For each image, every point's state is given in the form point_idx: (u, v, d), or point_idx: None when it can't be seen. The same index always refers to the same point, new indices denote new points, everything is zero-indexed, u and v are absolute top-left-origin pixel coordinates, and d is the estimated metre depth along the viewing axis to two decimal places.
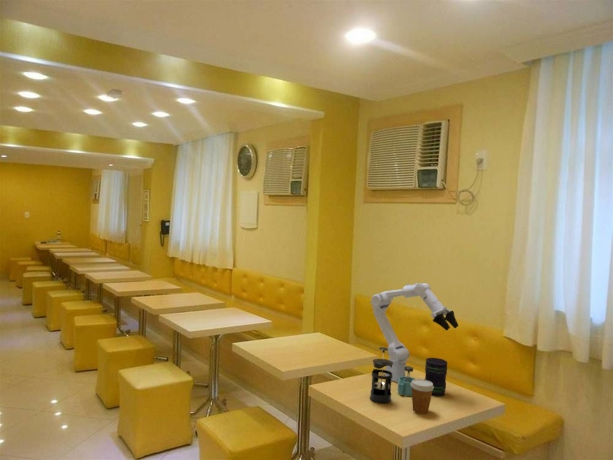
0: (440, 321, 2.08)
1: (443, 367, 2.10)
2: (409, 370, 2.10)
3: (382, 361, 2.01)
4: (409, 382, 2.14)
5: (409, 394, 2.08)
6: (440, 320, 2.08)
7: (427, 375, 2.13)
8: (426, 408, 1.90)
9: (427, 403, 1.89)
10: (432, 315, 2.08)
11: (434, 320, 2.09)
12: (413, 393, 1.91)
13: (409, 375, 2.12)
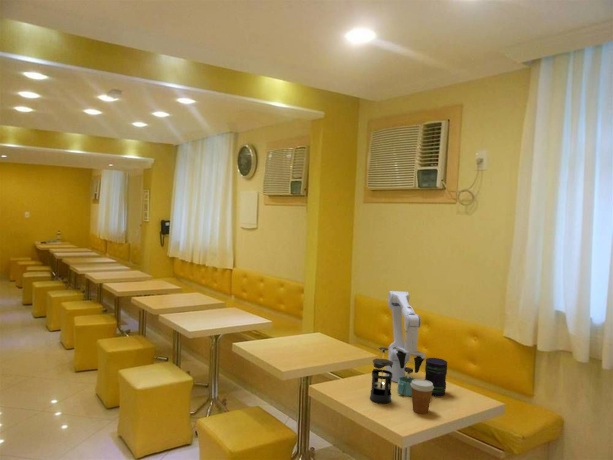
0: None
1: (443, 367, 2.10)
2: (409, 371, 2.10)
3: (382, 361, 2.01)
4: None
5: (409, 394, 2.08)
6: None
7: (427, 375, 2.13)
8: (426, 408, 1.90)
9: (427, 403, 1.89)
10: None
11: None
12: (413, 393, 1.91)
13: (409, 375, 2.12)
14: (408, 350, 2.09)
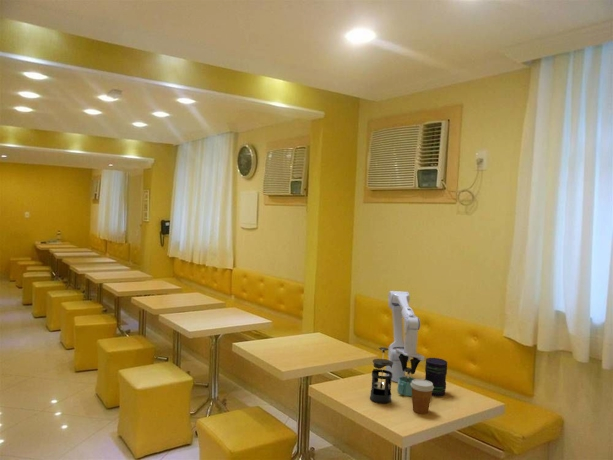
0: None
1: (443, 367, 2.10)
2: (409, 371, 2.10)
3: (382, 361, 2.01)
4: None
5: (409, 394, 2.08)
6: None
7: (427, 375, 2.13)
8: (426, 408, 1.90)
9: (427, 403, 1.89)
10: None
11: None
12: (413, 393, 1.91)
13: (409, 375, 2.12)
14: (407, 352, 2.10)
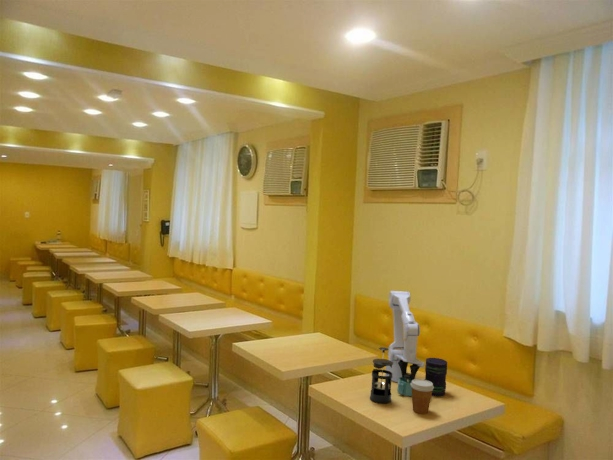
0: None
1: (443, 367, 2.10)
2: (409, 377, 2.10)
3: (382, 361, 2.01)
4: None
5: (409, 394, 2.08)
6: None
7: (427, 375, 2.13)
8: (426, 408, 1.90)
9: (427, 403, 1.89)
10: None
11: None
12: (413, 393, 1.91)
13: None
14: (407, 359, 2.10)
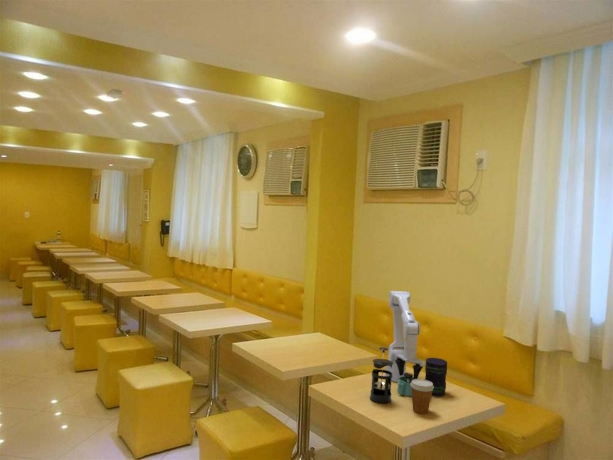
0: None
1: (443, 367, 2.10)
2: (409, 377, 2.10)
3: (382, 361, 2.01)
4: None
5: (409, 394, 2.08)
6: None
7: (427, 375, 2.13)
8: (426, 408, 1.90)
9: (427, 403, 1.89)
10: None
11: None
12: (413, 393, 1.91)
13: None
14: (407, 358, 2.10)
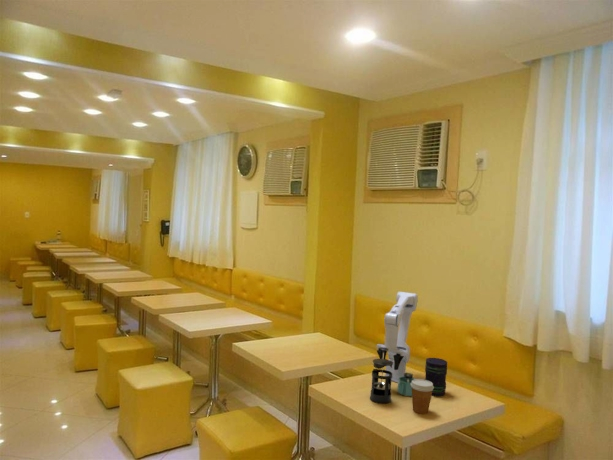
0: None
1: (443, 367, 2.10)
2: (409, 377, 2.10)
3: (382, 361, 2.01)
4: None
5: (409, 394, 2.08)
6: None
7: (427, 375, 2.13)
8: (426, 408, 1.90)
9: (427, 403, 1.89)
10: None
11: None
12: (413, 393, 1.91)
13: None
14: (388, 347, 2.12)
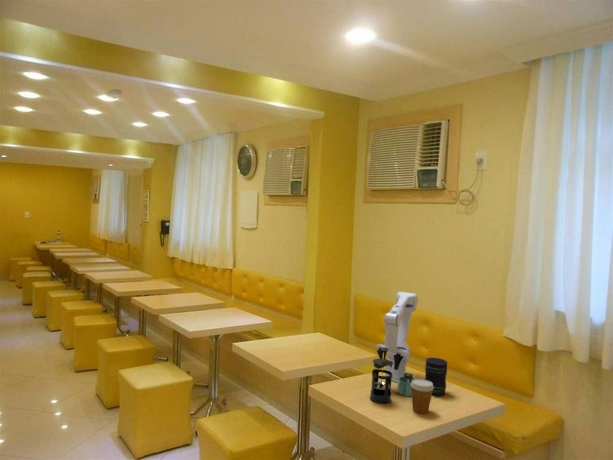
0: None
1: (443, 367, 2.10)
2: (409, 377, 2.10)
3: (382, 361, 2.01)
4: None
5: (409, 394, 2.08)
6: None
7: (427, 375, 2.13)
8: (426, 408, 1.90)
9: (427, 403, 1.89)
10: None
11: None
12: (413, 393, 1.91)
13: None
14: (388, 347, 2.12)
